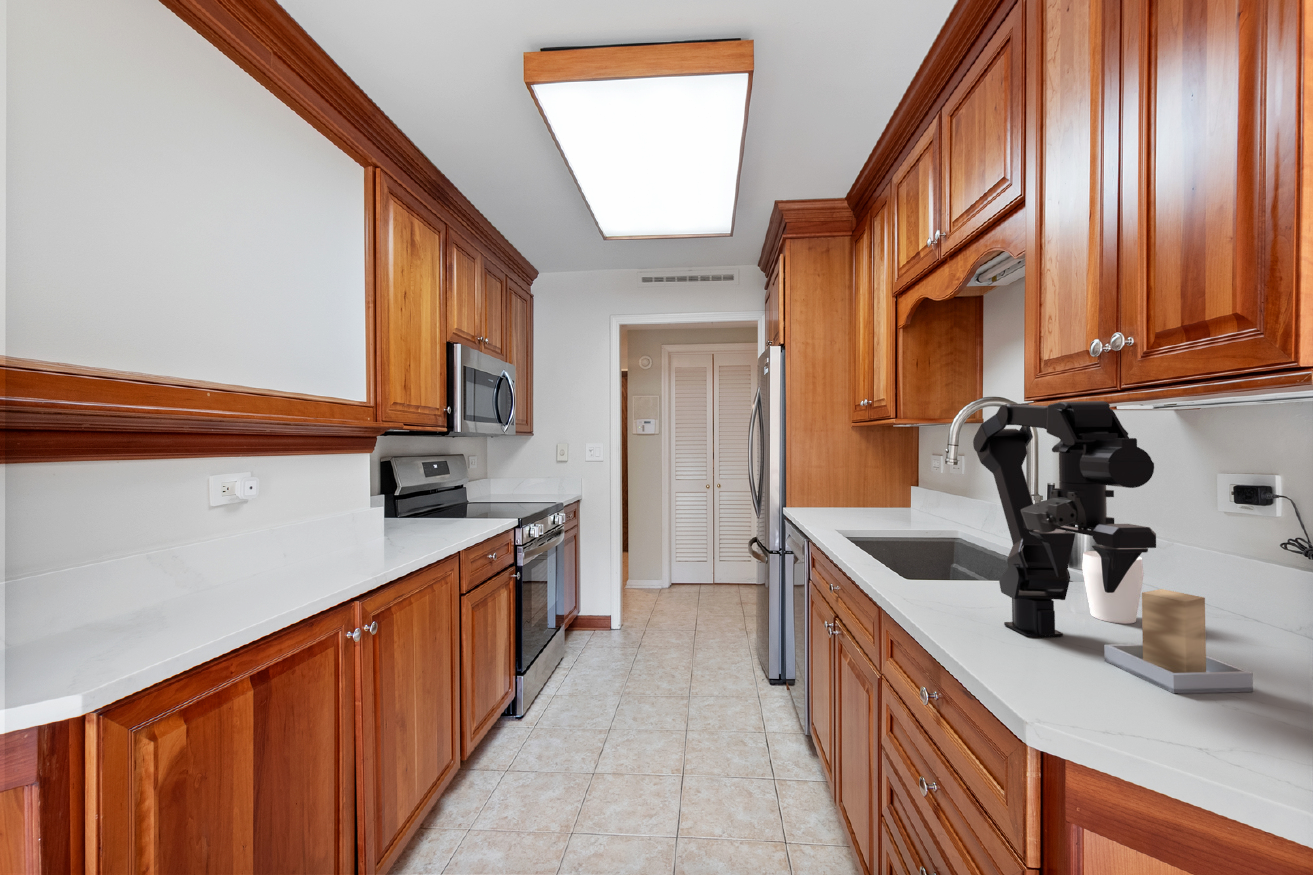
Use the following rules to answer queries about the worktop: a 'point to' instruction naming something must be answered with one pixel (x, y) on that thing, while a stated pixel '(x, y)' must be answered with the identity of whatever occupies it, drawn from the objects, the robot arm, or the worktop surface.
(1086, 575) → the cup
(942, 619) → the worktop surface
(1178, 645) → the oak block
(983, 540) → the worktop surface
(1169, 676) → the dish
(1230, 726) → the worktop surface
